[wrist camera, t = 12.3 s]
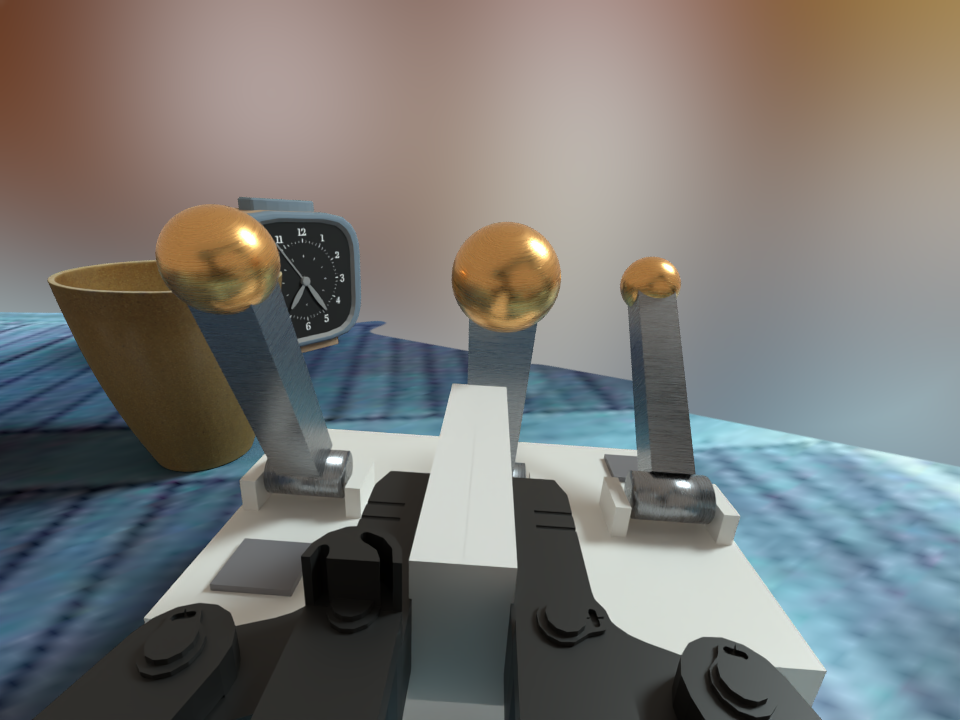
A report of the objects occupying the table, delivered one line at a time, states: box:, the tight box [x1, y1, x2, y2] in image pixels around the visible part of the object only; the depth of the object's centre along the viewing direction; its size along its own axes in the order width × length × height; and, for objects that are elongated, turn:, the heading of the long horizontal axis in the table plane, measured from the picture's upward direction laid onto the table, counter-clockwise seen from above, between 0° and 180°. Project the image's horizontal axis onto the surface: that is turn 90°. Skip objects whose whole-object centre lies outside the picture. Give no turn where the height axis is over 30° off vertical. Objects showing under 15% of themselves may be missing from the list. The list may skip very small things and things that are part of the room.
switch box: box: [144, 429, 827, 720], centre depth 23 cm, size 24×14×10 cm, turn 88°
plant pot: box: [48, 260, 282, 472], centre depth 37 cm, size 15×15×16 cm
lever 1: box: [155, 204, 353, 498], centre depth 17 cm, size 3×3×14 cm
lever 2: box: [620, 257, 716, 524], centre depth 23 cm, size 3×3×14 cm
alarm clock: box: [235, 197, 361, 353], centre depth 66 cm, size 21×10×22 cm, turn 146°
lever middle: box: [452, 222, 561, 478], centre depth 17 cm, size 3×3×14 cm
